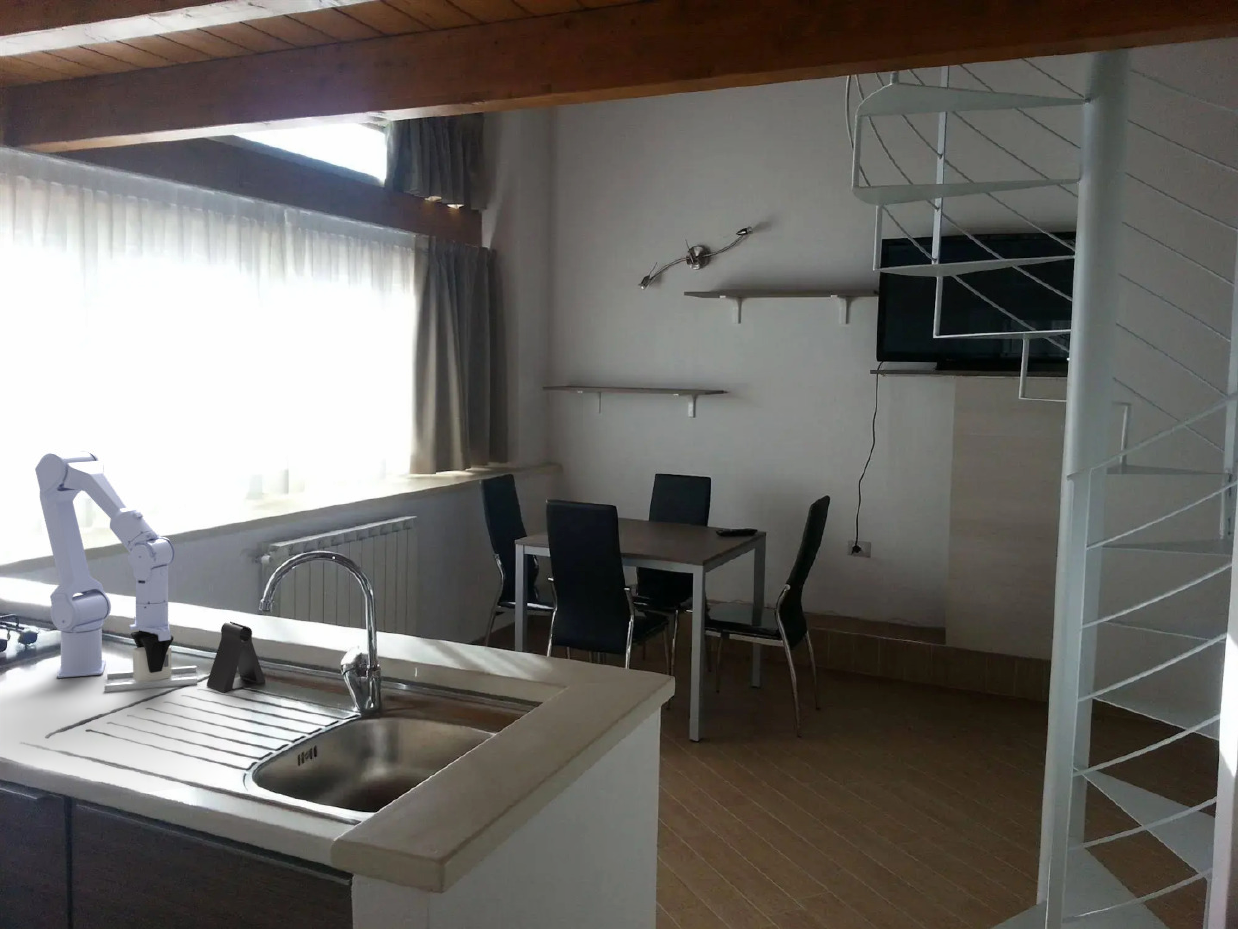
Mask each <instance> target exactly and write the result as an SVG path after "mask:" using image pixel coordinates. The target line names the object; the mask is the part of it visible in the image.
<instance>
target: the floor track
mask: <svg viewBox="0 0 1238 929" xmlns="http://www.w3.org/2000/svg"><path fill="white" fill-rule="evenodd" d="M106 676H107V677H106V683H104V692H105V693H108V692H120V691H131V690H132V691H134V690H143V689H144V690H145V689H158V688H168V687H178V686H179V687H180V686H181V687H182V686H191V685H193V686H194V685H198V675H197V665H190V666H189V665H188V666H187V665H185V666H176V667H175V666H174V667H172V677H170V678H165V679H159V680H148V681H136V680H134V679H133V670H122V671H110V672H109V671H108V672H107V673H106Z"/></svg>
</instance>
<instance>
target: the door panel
mask: <svg viewBox="0 0 1238 929" xmlns="http://www.w3.org/2000/svg"><path fill="white" fill-rule="evenodd" d="M172 668H173V667H172V647H171V645H170V646H169V648H168V651H167V653H166V657H165V661H164V665H163V668H162V671H160V672H154V673H150V671H149V668H148V662H147V655H146V651H145V648H144V647H141V648H137V647H136V648H132V671H133V679H134V680H136V681H148V680H159V679H165V678H170V677H172Z"/></svg>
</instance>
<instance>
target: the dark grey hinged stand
mask: <svg viewBox="0 0 1238 929" xmlns="http://www.w3.org/2000/svg"><path fill="white" fill-rule="evenodd" d="M220 634H221V636H220V638H221V639H220V641H219V645H218V648H217V651H216V654H215V657H214V659H213V663H212V667H211V668H210V669H211V670H210V672H209V675H208V679H207V682H206V687H208V688H210V689H213V690H215V691H219V692H221V693H224V694H226V693H230V692H235V691H238V690H243V689H245V688H251V687H254V686H255V687H256V686H258V685H263V684H265V683H266V678H265V675H264V673H263V670H262V667H261V664H260V661H259V659H258V655H257V652H256V650H255V646H254V644H253V640H252V639H253V638H252V637H253V630H252V628H250V627H249V626H246V625H242V624H239V623H235V622H233V621H230V622H229V623H228V622H224V623H223V624H222V626H221V628H220ZM237 669H238V673H239V676H238V677H236V674H237Z"/></svg>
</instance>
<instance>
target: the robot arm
mask: <svg viewBox="0 0 1238 929" xmlns="http://www.w3.org/2000/svg"><path fill="white" fill-rule="evenodd" d="M34 470H35V475H36V479H37V483H38V487H39V502H40V505H41V510H42V514H43V518H44V522H45V525H46V526H45V527H46V529H47V535H48V539H49V544H50V547H51V552H52V557H53V560H54V564H55V568H56V573H57V576H58V582H59V584H58V585H57V586H56V588H55V589H54V590H53V592H52V593H51V594H50V596H49V598H50V602H51V608H50V618H51V622H52V623H53V626H55V627H56V629H57V631H58V632H60V667H59V668H58V672H57V674H56V678H59V679H60V678H70V677H71V678H75V677H86V676H87V677H88V676H98V675H99V676H101V675H103V674H104V671H105V667H106V662H107V661H106V659H103V654H102V652H103V651H102V650H103V647H102V646H103V644H102V643H103V642H102V641H103V638H102V636H103V631H102V628H103V627H102V626H104V625H105V620H107V619H108V617H109V616H110V614H111V610H112V605H111V600H110V598H109V597H108V596H107V594H106V592H105V590H104V587H103V584H102V583H101V582H99V581H98V580H96V579H95V578H93V577H92V576H91V573H90V568H89V565H88V561H87V556H86V552H85V549H84V544H83V539H82V536H81V531H80V530H81V529H80V526H79V521H78V518H77V514H76V509H75V506H74V500H75V499H76V497H77V496H78V494H79V493H81V492H85V493H86V494H87V495H88V496H89V497H90V499H92V501H93V502H94V503H95V504H96V505H97V506H98V507H99V508H100V509H101V510H102V511H103V512H104V514H106V515H107V517H109V519H110V520H109V529H110V530H111V531H112V532H113V534H114V535H115V536H116V537H117V538H118V540H119V541H120V543H121V544H122V545H123V546H124V547H125V549H126V550H127V551H128V553H129V554H128V555H127V560H128V563H129V566H130V567H131V568H132V572H133V573H132V574H133V575H132V576H133V577H134V579H135V616H134V617H133V624H129V626H128V627H129V630H131V631H132V632H130V636H131V638H132V639H133V641H134V643H135V645H136V648H141V647H144V648H145V651H146V655H147V662H148V668H149V671H150V673H154V672H160V671H162V668H163V665H164V661H165V657H166V653H167V651H168V648H169V646H170V647H171V645H172V643H173V641H174V636H173V635H172V630H171V629H170V621H169V566H170V565H171V564H172V563H173V561H175V556H176V551H175V547H174V545H173V543H172V542H171V540H170V539H169V538H167V537H164V536H161V535H159V534H157V533H156V532H155V531H154V530H153V529H152V528H151V526H150V525H149V524H148V522H146V520H145V519H144V518H143V517H144V515H143V514H142V513H141V512H140V511H137V509H134V508H128V507H126V504H124V502H123V501H122V499H121V498H120V495H118V494H117V492H116V490H115V489H114V487H113V486H112V485H111V483H110V482H109V481H108V479H107V477H106V476H105V475H104V464H103V463H102V462H101V461H100V460H99V458H98V456H97V455H96V454H95V453H94V452H91V451H90V450H83V451H78V452H77V451H76V452H74V451H73V452H63V453H60V452H59V453H54V452H52V453H51V452H50V453H47V454H45V455H43V456H42V457H41V458H40V461H39V462H38V464H37V465H36V467H35V468H34ZM75 594H79V595H75ZM74 595H75V596H74Z"/></svg>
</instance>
